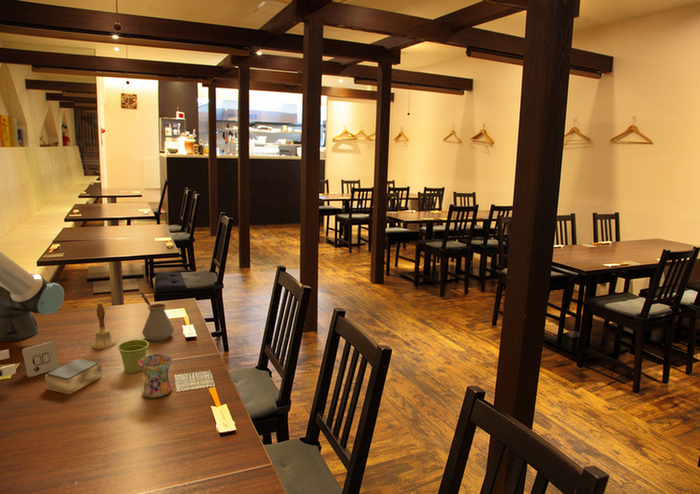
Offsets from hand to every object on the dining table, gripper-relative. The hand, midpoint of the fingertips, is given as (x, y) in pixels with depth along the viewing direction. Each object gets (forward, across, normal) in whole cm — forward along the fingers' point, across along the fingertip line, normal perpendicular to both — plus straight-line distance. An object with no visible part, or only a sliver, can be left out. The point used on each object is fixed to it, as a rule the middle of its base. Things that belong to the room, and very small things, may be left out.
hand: (12, 360), depth 147 cm
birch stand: (+14, +15, -6) cm, 21 cm away
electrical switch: (+7, 0, -6) cm, 10 cm away
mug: (+31, +35, -6) cm, 48 cm away
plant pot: (+31, +17, -6) cm, 36 cm away
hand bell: (+29, -11, -6) cm, 31 cm away
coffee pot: (+47, -10, -6) cm, 48 cm away
